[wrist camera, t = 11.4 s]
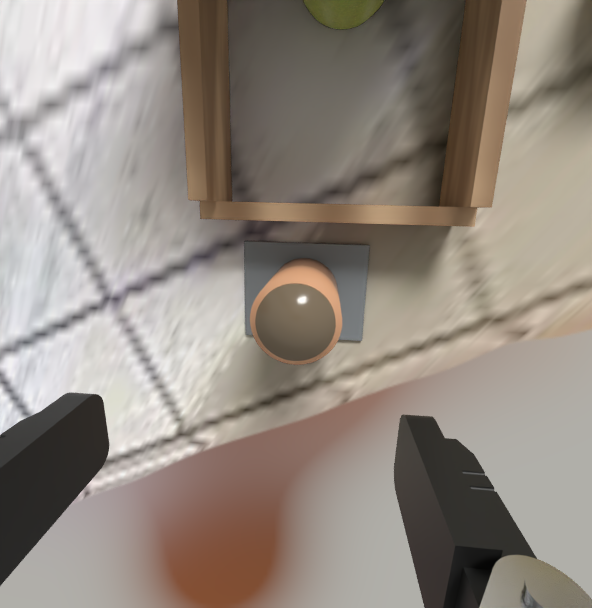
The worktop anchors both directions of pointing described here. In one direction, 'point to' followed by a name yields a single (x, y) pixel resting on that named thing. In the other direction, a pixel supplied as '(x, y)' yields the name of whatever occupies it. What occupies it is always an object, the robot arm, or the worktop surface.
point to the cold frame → (451, 212)
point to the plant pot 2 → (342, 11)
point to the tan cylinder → (298, 313)
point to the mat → (337, 257)
